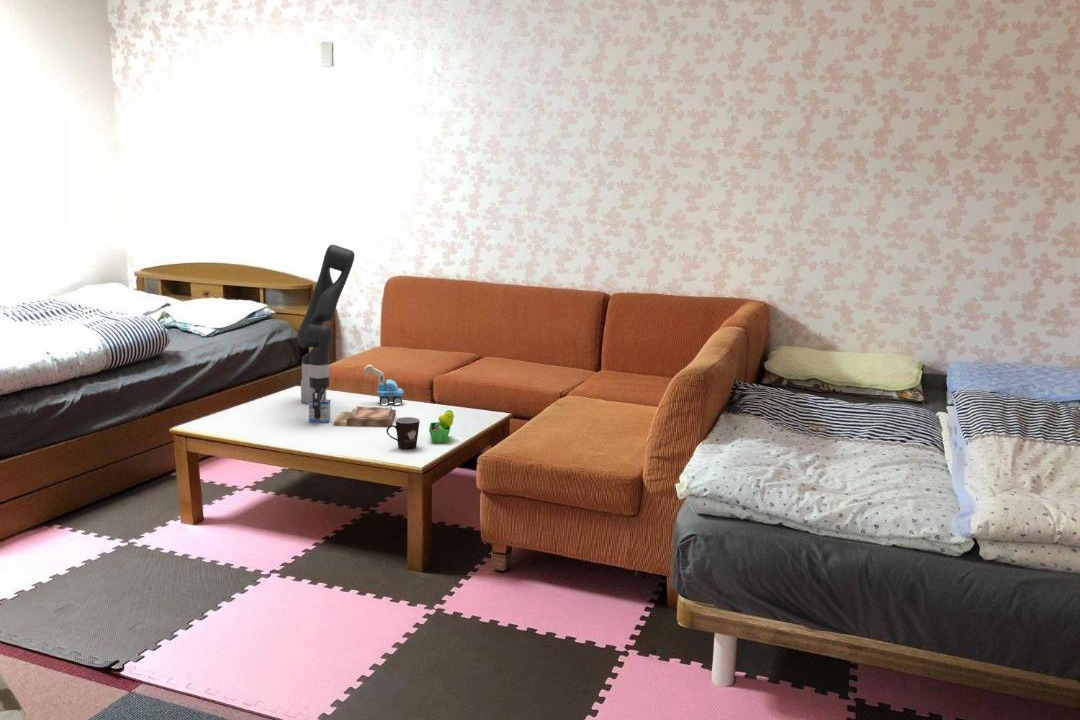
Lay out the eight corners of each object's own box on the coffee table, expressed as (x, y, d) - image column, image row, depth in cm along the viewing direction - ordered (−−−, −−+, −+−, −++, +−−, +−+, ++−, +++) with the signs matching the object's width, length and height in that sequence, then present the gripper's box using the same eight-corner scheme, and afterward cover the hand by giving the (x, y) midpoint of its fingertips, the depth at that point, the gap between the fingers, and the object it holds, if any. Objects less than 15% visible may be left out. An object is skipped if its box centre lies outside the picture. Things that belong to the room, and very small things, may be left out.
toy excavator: (364, 401, 367) (364, 363, 364) (403, 401, 370) (403, 363, 367) (363, 406, 359) (364, 366, 356) (403, 406, 362) (404, 367, 359)
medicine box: (308, 422, 329) (308, 401, 328) (310, 420, 334) (310, 398, 332) (329, 423, 330) (328, 401, 329) (330, 420, 334) (330, 398, 333)
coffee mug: (419, 443, 307) (419, 417, 305) (419, 450, 298) (420, 423, 297) (386, 443, 305) (386, 417, 303) (386, 450, 297) (386, 423, 295)
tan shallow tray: (333, 425, 326) (333, 415, 326) (340, 415, 342) (340, 405, 341) (390, 427, 328) (391, 416, 327) (395, 416, 343) (395, 406, 343)
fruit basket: (430, 435, 319) (430, 406, 316) (453, 435, 319) (454, 406, 317) (428, 443, 307) (429, 413, 305) (453, 444, 308) (453, 414, 306)
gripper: (313, 371, 335) (313, 411, 338) (305, 378, 321) (306, 420, 324) (332, 371, 336) (332, 411, 339) (325, 379, 322) (325, 420, 325)
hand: (319, 415), depth 331 cm, fingers open, 8 cm apart
